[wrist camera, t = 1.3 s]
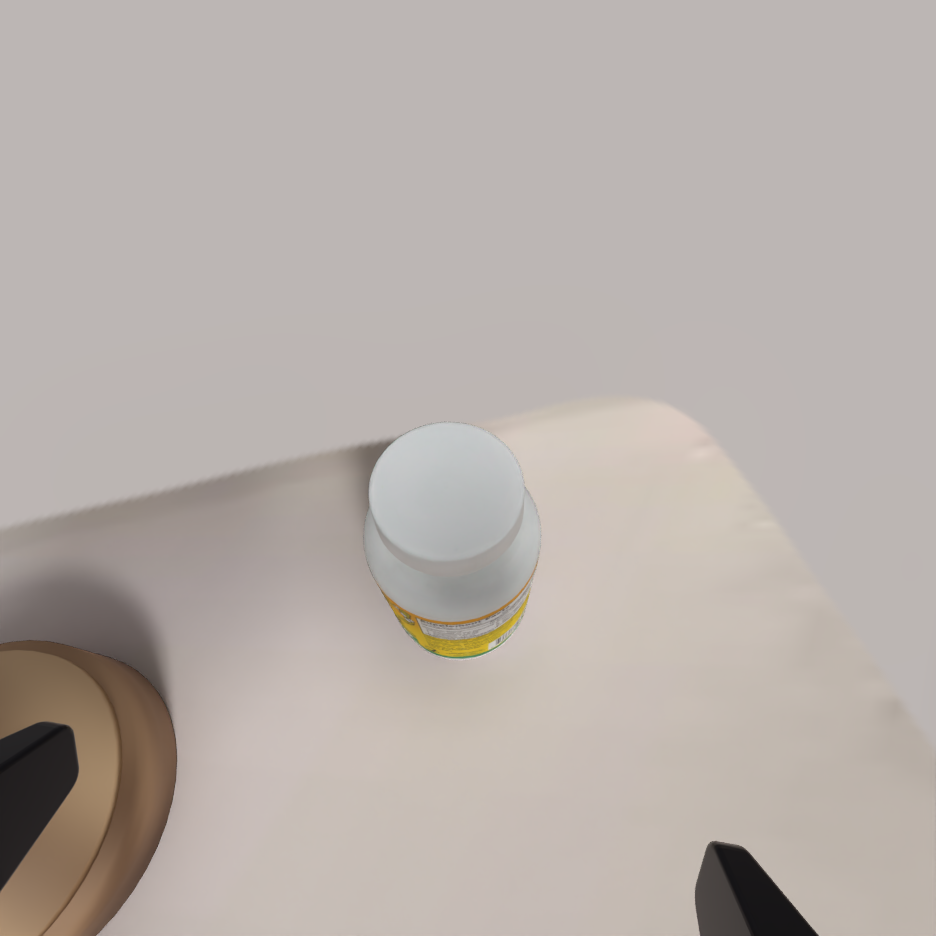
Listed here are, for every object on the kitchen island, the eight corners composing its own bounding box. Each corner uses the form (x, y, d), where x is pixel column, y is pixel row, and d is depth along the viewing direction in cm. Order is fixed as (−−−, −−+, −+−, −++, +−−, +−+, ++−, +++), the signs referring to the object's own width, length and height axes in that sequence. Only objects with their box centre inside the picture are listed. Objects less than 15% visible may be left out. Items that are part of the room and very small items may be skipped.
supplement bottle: (532, 658, 20) (567, 586, 12) (393, 666, 20) (331, 599, 12) (519, 528, 23) (540, 394, 15) (395, 535, 23) (346, 405, 15)
